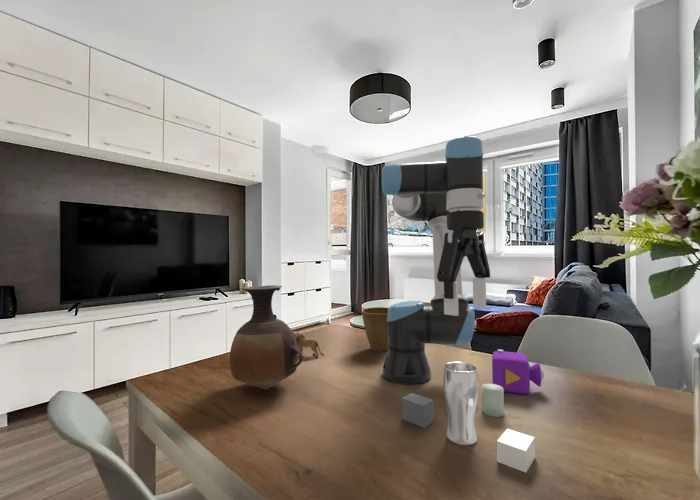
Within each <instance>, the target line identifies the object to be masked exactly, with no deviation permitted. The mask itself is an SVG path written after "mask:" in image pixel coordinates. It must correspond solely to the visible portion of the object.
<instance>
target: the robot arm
mask: <svg viewBox="0 0 700 500" xmlns="http://www.w3.org/2000/svg"><path fill="white" fill-rule="evenodd" d="M444 157H445V160H443V161H432V162H431V161H430V162H428V161H427V162H413V163H411V162H409V163H392V164H387V165H383V166H382V168H381V187H382V189H381V190H382V193H383V194H384V195H386V196H392V199H391V200H392V201H391V204H392V205H391V206H392V208H393V211H394V212H395V213H396V214H397V215H398V216H400V217H402V218H404V219H406V220H409V221H414V222H427V226H428V228H429V229H431V232H432V249H433V250H432V253H433V255H432V256H433V277H434V281H433V282H434V296H433V297H432V298H431V299H430V305H428V306H427V305H425V302H424V301H422V300H411V301H410V300H408V301H402V302H397V303H393V304H391V305H390V306H388V307H387V308H388V318H387V322H388V351H386V352H387V353H386V356H385V359H384V363H383V366H382V376H383V379H386V380H388V381H390V382H392V383H393V382H394V383H396V384H402V385H403V384H405V385H414V384H415V385H417V384H421V383H425V382H427V381H428V380H430V379H431V377H432V373H431V372H432V371H431V367H430V363H429V361H428V358H427V354H426V352H425V348H426V347H425V344H430V345H431V344H432V345H433V344H434V345H454V346H457V345H468V344H469V343H471V341H472V339H473V335H474V332H475V323H476V322H475V321H476V318H475V317H476V316H475V314H476V313H475V308H474V307H477V308H478V307H479V308H487V282H486V281H487V280H486V279H489V278H491V269H490V264H489V261H488V257H487V252H486V245H485V238H484V234H478V233H477V231H478V230H482V229H484V227H485V225H484V224H485V223H484V220H485V218H484V212H483V211H482V209H483V208H484V198H485V197H486V194H485V193H484V182H483V181H484V179H483V178H484V177H483V176H484V173H483V172H484V168H483V167H484V161H483V160H484V152H483V142H482V139H480V137H478V136H473V135H463V136H459V137H455V138H452V139H450V140H449V141H447V142H446V145H445V154H444ZM465 257H466V258H467V261H468V263H469V266H470V267H471V271H472V273H473V275H474V277H473V278H472V306H471V305H469V300H468V299H467V298H466V297H465V296H464V295H463V284H462V283H463V282H462V280H463V279H462V268H461V266H462V263H463V261H464V258H465Z"/></svg>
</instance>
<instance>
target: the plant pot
mask: <svg viewBox="0 0 700 500" xmlns="http://www.w3.org/2000/svg"><path fill="white" fill-rule="evenodd" d="M388 308H389V307H382V306H381V307H380V306H377V307H375V306H374V307H367V308H363V309H362V310H361V316H362V321H363V326H364V330H365V334H366V338H367V341H368V343H369V347H370V349H371V351H373V350H374V351H373V352H377V351H385V352H388V351H387V350H388V322H387V318H388Z"/></svg>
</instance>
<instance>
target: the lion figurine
mask: <svg viewBox="0 0 700 500" xmlns="http://www.w3.org/2000/svg"><path fill="white" fill-rule="evenodd" d="M292 332H293V334H294V336H295V339H296V342H297V347H298V348H299V349H300V350H301V351H302V352H303V353H304V349H308V348H309V349H311V350H312V351H313V353H312V355H313V354H316V355H314V357H318V358H319V354H320V355H321V356H323V357H324V356H325V354H324V353H323V352H321V349H320V346H319V345H320V344H319V343H318V340H317V339H316V338H313V337H312V338H307V337H305V336H304V335H303V334H301V333H300V332H298V331H296V330H295V331H294V330H293V331H292ZM318 351H319V352H318Z"/></svg>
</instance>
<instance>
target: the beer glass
mask: <svg viewBox="0 0 700 500" xmlns="http://www.w3.org/2000/svg"><path fill="white" fill-rule="evenodd" d="M478 377H479V375H478V367H477V365H474V364H471V363H469V362H464V361H463V362H462V361H451V362H447V363H445V364H444V374H443V391H444V400H445V405H446V410H447V414H448V415H447V417H448V424H447V429H446V437H447V439H448V440H449V441H451V442H452V443H453V444H455V445H456V444H457V445H460V446H472V445H474V444H476V442H477V440H478V436H477V431H476V426H475V424H476V423H475V421H476V420H475V419H476V412H477V407H478V400H479V380H478V379H479V378H478Z"/></svg>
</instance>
